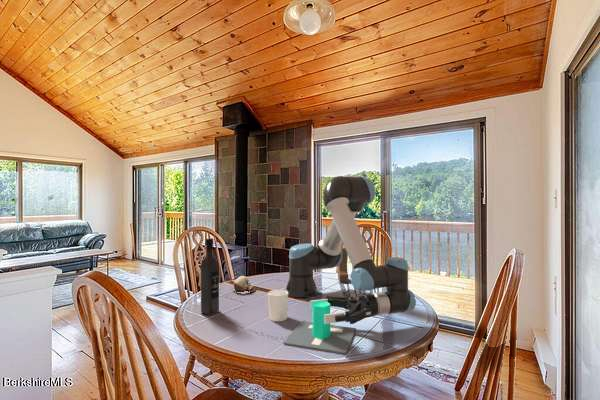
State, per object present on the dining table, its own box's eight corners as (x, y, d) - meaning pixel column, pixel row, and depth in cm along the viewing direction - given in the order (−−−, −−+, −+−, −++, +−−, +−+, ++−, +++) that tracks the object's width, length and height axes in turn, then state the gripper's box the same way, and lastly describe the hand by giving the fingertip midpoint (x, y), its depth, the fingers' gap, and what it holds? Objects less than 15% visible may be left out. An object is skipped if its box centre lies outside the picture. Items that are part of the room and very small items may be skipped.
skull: (244, 283, 164) (252, 271, 159) (253, 300, 158) (262, 287, 154) (225, 288, 155) (233, 275, 150) (234, 305, 149) (243, 292, 145)
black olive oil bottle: (220, 311, 127) (219, 238, 126) (210, 315, 122) (209, 240, 121) (210, 308, 129) (209, 237, 129) (199, 313, 124) (199, 239, 124)
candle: (311, 331, 105) (311, 296, 105) (328, 330, 106) (328, 295, 106) (313, 339, 99) (313, 302, 99) (332, 338, 100) (331, 301, 100)
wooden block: (348, 283, 167) (348, 250, 167) (340, 283, 167) (339, 250, 167) (346, 278, 176) (346, 247, 176) (338, 278, 176) (338, 247, 176)
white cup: (272, 324, 113) (272, 297, 113) (265, 316, 120) (264, 291, 120) (292, 320, 117) (291, 293, 117) (283, 313, 124) (283, 288, 124)
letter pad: (283, 344, 97) (283, 342, 97) (301, 322, 114) (301, 320, 114) (346, 354, 91) (346, 352, 91) (355, 329, 108) (355, 327, 108)
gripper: (394, 329, 96) (332, 339, 90) (356, 303, 120) (305, 309, 114) (394, 305, 96) (331, 313, 90) (356, 284, 120) (305, 289, 114)
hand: (316, 311), depth 102 cm, fingers open, 13 cm apart
